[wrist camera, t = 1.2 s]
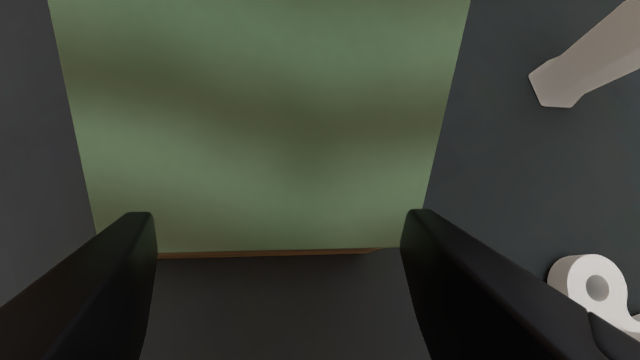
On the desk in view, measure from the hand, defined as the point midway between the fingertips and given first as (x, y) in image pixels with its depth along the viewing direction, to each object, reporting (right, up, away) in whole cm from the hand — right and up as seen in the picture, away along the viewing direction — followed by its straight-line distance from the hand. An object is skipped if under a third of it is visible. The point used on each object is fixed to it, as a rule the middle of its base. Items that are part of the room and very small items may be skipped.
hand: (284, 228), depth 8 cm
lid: (-1, +4, +7) cm, 8 cm away
